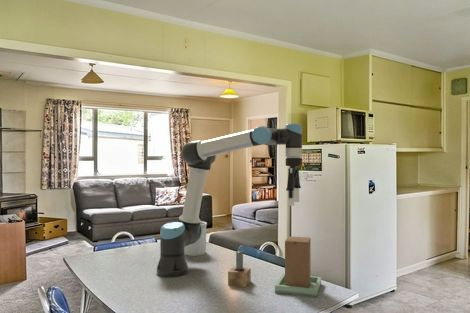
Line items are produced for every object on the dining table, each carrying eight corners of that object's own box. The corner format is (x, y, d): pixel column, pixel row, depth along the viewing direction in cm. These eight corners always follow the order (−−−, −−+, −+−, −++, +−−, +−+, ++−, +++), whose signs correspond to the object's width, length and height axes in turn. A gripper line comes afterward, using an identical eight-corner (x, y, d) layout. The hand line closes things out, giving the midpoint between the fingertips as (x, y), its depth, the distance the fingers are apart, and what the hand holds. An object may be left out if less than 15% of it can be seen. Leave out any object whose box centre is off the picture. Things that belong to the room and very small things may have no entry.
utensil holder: (205, 256, 216) (205, 225, 216) (179, 256, 216) (179, 225, 216) (207, 249, 230) (207, 220, 231) (183, 249, 231) (183, 220, 231)
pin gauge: (235, 283, 168) (235, 252, 168) (237, 281, 171) (237, 250, 171) (241, 284, 167) (241, 252, 167) (243, 282, 170) (243, 251, 170)
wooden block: (308, 290, 157) (308, 242, 157) (284, 288, 159) (284, 240, 159) (310, 283, 166) (310, 237, 166) (287, 281, 169) (287, 236, 169)
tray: (274, 292, 157) (274, 285, 157) (283, 280, 173) (283, 273, 173) (316, 297, 152) (316, 289, 152) (321, 284, 168) (321, 277, 168)
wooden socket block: (228, 285, 167) (228, 271, 167) (233, 279, 174) (233, 266, 174) (245, 287, 164) (245, 273, 164) (250, 281, 172) (250, 268, 172)
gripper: (297, 157, 161) (297, 207, 161) (305, 157, 185) (305, 201, 185) (280, 157, 164) (280, 206, 164) (290, 157, 188) (290, 200, 187)
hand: (293, 203), depth 174 cm, fingers open, 13 cm apart
